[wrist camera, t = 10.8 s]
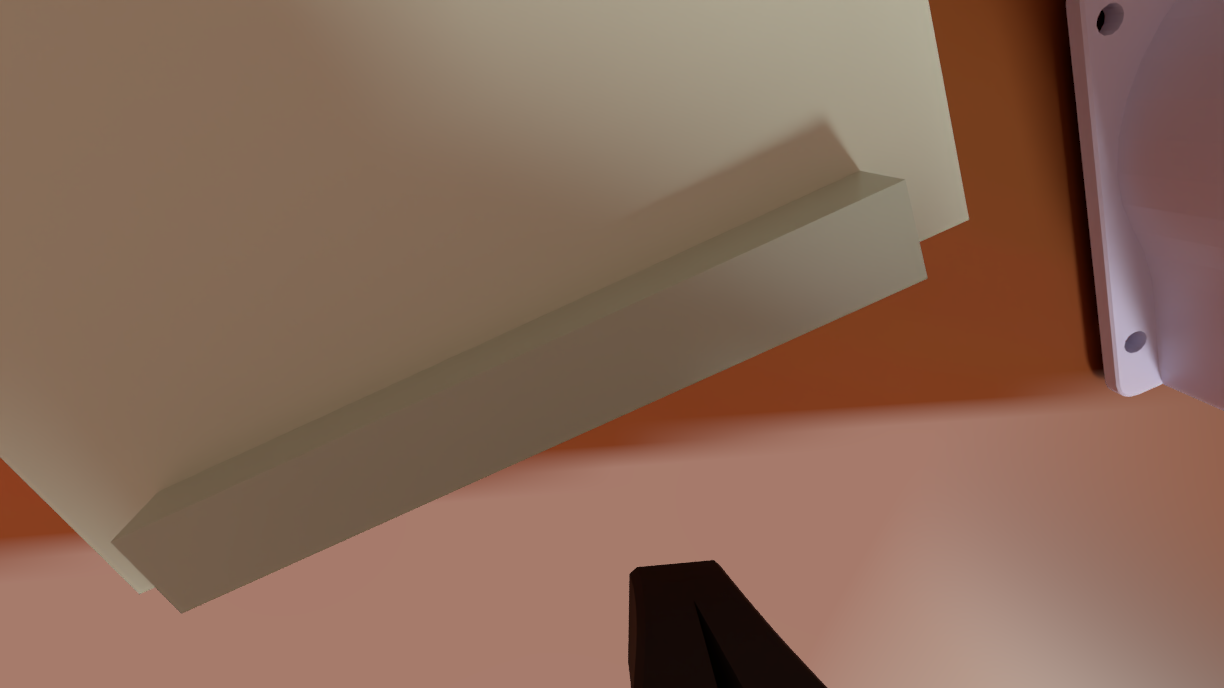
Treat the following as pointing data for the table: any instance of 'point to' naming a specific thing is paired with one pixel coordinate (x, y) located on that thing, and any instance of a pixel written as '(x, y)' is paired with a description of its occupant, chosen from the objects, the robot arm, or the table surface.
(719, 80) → the lid
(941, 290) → the table surface
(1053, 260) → the table surface
